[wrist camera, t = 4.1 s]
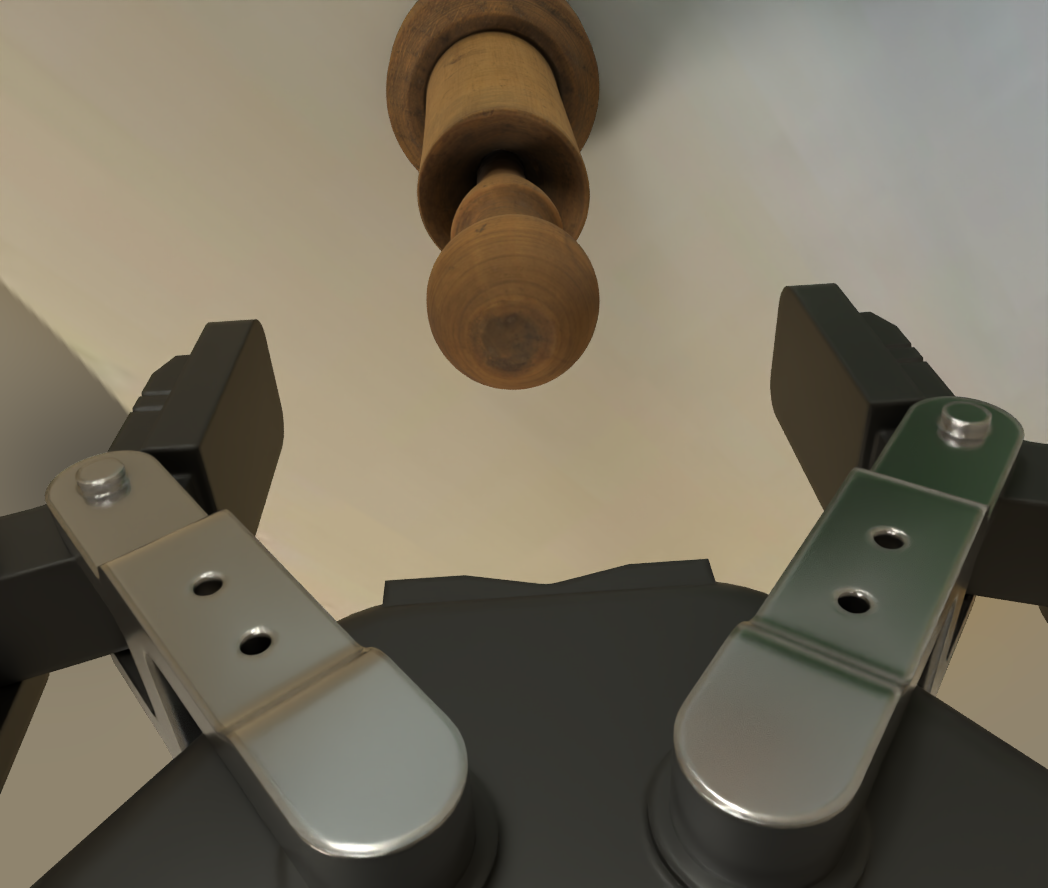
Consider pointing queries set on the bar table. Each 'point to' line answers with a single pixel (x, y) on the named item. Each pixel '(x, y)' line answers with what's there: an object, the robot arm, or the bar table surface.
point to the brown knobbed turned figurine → (501, 179)
